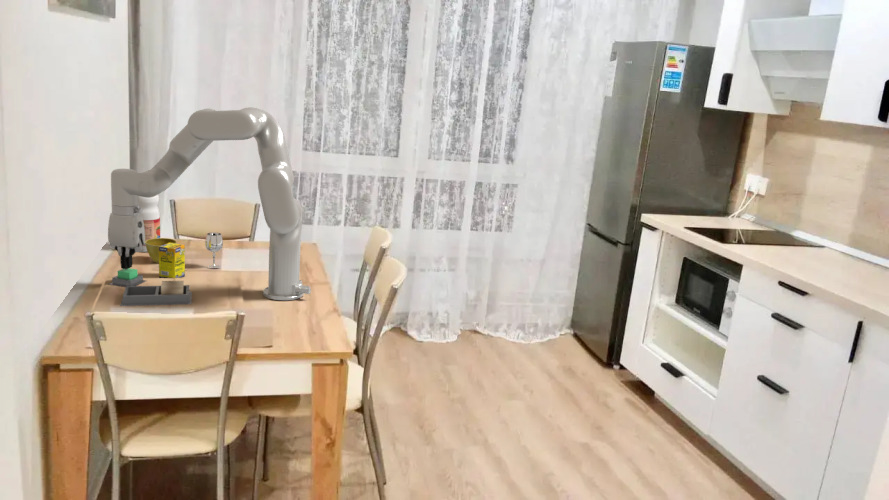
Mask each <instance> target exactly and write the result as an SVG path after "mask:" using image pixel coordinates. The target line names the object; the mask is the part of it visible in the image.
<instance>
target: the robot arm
mask: <svg viewBox="0 0 889 500" xmlns="http://www.w3.org/2000/svg"><path fill="white" fill-rule="evenodd" d="M252 138H254V139H255V142H256V144H257V145H256V146H257V151H258V156H259V160H260V164H261V165H260V166H261V172H260V174H259V175H258V179H257V189H258V194H259V197H260V198H259V199H260V202H261V207H262V212H263V217H264V220H265V223H266V225H267V227H268V229H270V230H269V247H268V248H269V249H268V250H269V251H268V252H269V253H268V282H267V284H268V285H267V287H264V288H263V292H262V294H263V296H264V298H268V299H271V300H275V301H293V300H294V301H295V300H298V299H300V298H302V297H303V296H304V295H305V294H306V295H310V294H311V291H312V289H311V286H310V285H304V284H303V280H300V271H301V270H300V268H301V267H300V266H301V248H302V247H301V246H302V245H301V242H302V229H303V214H304V213H303V208H302V204H301V203H300V202H299V200H297V199H296V198H295V196H294V194H293V189H292V187H293V185H294V181H295V177H294V172H293V168H292V165H291V160H290V155H289V151H288V147H287V142H286V139H285V135H284V132H283V129H282V127H281V125H280V123H279V122H278V120H277V119H276V118H275V117H274V116H273V115H272V114H270V113H269V112H267V111H265V110H264V109H260V108H257V107H244V108H241V109H236V110H235V109H233V110H217V109H216V110H215V109H212V108H203V109H199V110H196V111H195V112H193V113H192V114H190V116H189V118H188V120H187V124H186V125H185V126H184V127H183V128H182V129H181V130H180V131H179V132H178V133H177V134H176V135H175V136H174V137H173V138H172V139H171V141H170V142H169V145H168V149H167V151H166V153H165V154H164V155H163V156H162V157H161V158H160V160H159V161H158V162H157V163H156V164H155V165H154V166H153V167H151V169H149V170H147V171H144V172H138V170H135V169H131V168H115V169H113V170H112V171H111V173H110V187H111V188H110V189H111V190H110V191H111V192H110V193H111V194H110V195H111V212H110V214H109V217H108V223H107V224H108V227H107V240H108V243H109V247H110V248H111V249H114V250H115V251H116V252H117V255H118V256H120V269H128V268H131V269H132V267H133V256H134V255H135V254H136V253H142V252H141V251H143V247H142V245H145V229H144V223H143V218H142V215H140V214H139V213H141V212H142V209H141V208H139V196H142V197H148V198H149V197H154V196H156V195H160V194H161V193H163V192H165V191H166V190H167V189H169V188H170V187H171V186H172V185H173V184H174V183H175V181H176V180H178V179H179V178H180V176H181V175H183V173H184V172H185V171H186V170H187V169H188V168H189V166H191V165H192V164H193V163H194V162H195V160H196V159H198V157H199V156H200V155H201V154H202V153H203V152H204V151H205V150H206V149H207V148H208V147H209V146H210V145H212V143H213V142H214V141H244V140H248V139H252Z"/></svg>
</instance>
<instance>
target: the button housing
mask: <svg viewBox="0 0 889 500" xmlns="http://www.w3.org/2000/svg"><path fill="white" fill-rule="evenodd" d="M137 275H138V276H137V277H134V278H132V279H124V278H118V275H116V276H113V277H111V278H112V280H111V281H112V282H110V283H108V284H107V285H109V286H116V287H122V288H126V286H140V285H141V284H143V283H146V282H147V280H146V279H145V280H144V276H143V274H139V273H137Z"/></svg>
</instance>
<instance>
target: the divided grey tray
mask: <svg viewBox="0 0 889 500" xmlns="http://www.w3.org/2000/svg"><path fill="white" fill-rule="evenodd" d="M192 296H193V292H192V291H190V285H189V284H184V294H174V295H161V285H137V286H126V287H124V291H123V294H122V299H121V301H120V304H119V307H137V306H139V307H141V306H174V305H175V306H176V305H182V306H183V305H192V300H193V298H192Z"/></svg>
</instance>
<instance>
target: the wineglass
mask: <svg viewBox="0 0 889 500" xmlns="http://www.w3.org/2000/svg"><path fill="white" fill-rule="evenodd" d="M204 242H205V243H204V244H205V245H204V246H205V248H206V250H208V251H209V252H211V253H212V258H213V262H212V265H211V266H210V265H208V266H209V268H210V267H211V268H219V267H221V266H220V265H218V266H217V265H216V263H215V262H216V253H217V252H220V251H221V250H222V248H223V246H224V245H223V244H224V241H223V235H222V233H220V232H217V231H216V232H208V233H206V236H205V240H204ZM209 268H208V269H209ZM219 269H220V268H219Z"/></svg>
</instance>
